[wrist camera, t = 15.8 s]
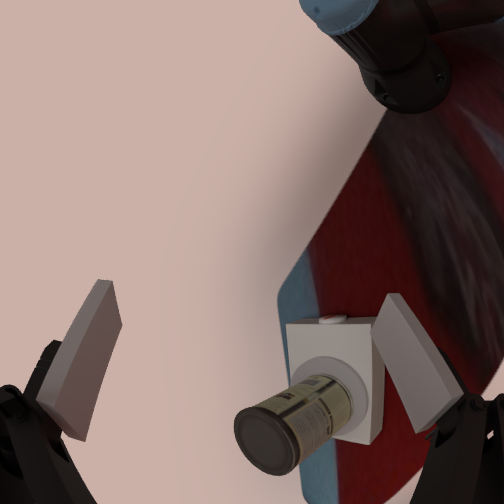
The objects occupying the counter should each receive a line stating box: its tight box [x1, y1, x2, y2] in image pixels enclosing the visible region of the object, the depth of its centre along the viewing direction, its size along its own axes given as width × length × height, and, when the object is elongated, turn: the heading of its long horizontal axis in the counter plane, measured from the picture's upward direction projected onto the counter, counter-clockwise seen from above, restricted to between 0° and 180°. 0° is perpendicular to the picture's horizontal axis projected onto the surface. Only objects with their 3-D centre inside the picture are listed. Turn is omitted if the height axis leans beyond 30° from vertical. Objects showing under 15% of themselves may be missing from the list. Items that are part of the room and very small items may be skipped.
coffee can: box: [234, 373, 354, 476], centre depth 33 cm, size 10×10×14 cm
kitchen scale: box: [286, 315, 385, 445], centre depth 40 cm, size 15×21×6 cm
